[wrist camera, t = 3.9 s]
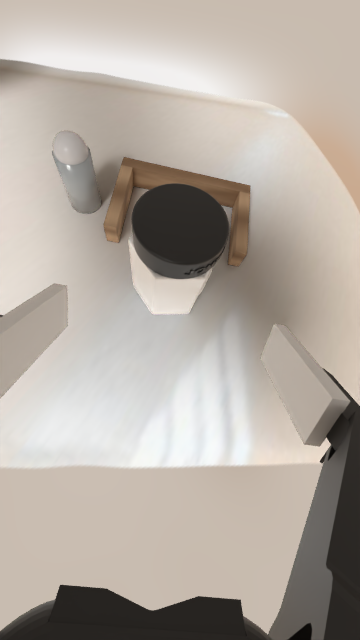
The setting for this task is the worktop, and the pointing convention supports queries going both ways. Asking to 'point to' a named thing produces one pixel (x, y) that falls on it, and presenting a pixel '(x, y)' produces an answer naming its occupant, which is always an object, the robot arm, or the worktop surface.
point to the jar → (175, 245)
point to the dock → (159, 175)
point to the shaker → (76, 171)
